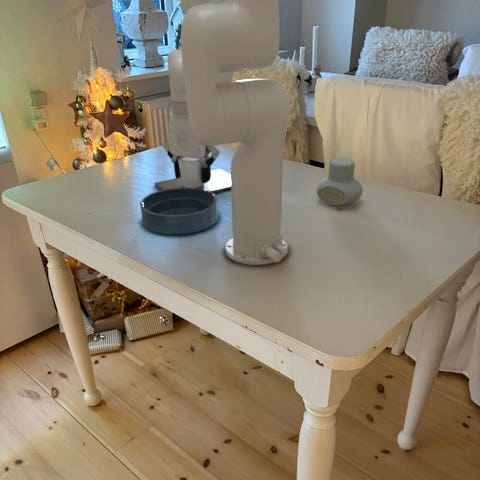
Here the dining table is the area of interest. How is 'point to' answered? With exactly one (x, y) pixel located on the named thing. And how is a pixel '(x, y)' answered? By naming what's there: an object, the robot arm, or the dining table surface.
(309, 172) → the dining table surface
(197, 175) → the white cup
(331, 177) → the air freshener
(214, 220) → the bowl
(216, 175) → the board
